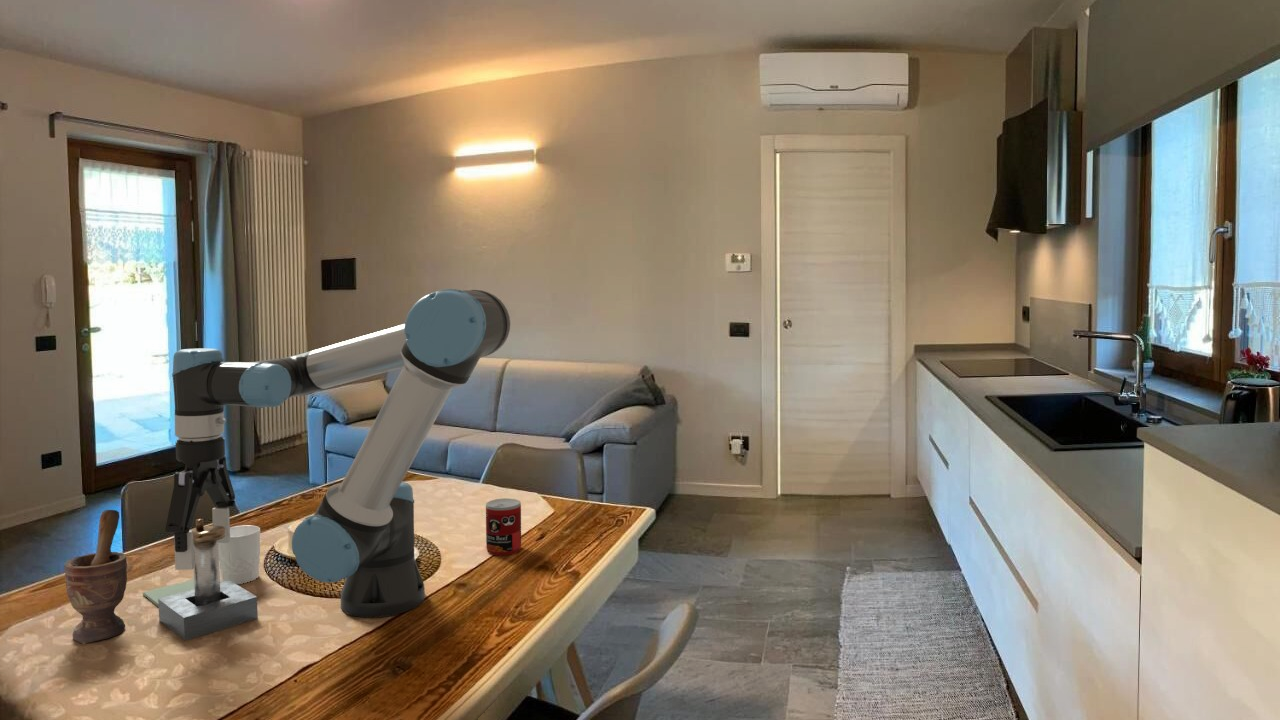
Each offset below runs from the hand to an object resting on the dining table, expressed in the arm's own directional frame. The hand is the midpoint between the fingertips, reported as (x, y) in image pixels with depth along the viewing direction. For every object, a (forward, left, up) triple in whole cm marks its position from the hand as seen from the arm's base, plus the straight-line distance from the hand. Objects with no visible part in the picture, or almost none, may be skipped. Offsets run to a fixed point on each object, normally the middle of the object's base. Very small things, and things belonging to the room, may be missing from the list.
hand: (204, 555), depth 139 cm
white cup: (+16, -12, -12) cm, 23 cm away
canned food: (-10, -59, -12) cm, 61 cm away
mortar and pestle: (+9, +14, -12) cm, 20 cm away
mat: (+16, -1, -12) cm, 20 cm away
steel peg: (0, 0, -12) cm, 12 cm away
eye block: (0, 0, -12) cm, 12 cm away
